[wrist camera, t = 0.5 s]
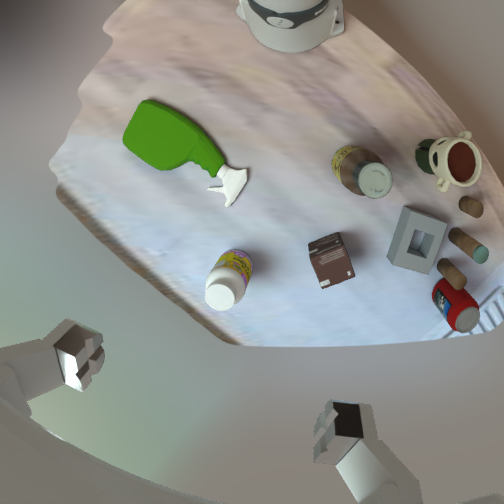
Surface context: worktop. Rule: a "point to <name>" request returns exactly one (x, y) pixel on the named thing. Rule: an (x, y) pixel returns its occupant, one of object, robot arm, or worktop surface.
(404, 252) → the socket block
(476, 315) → the beverage can
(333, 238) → the box
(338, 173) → the sauce bottle
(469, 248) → the long pin
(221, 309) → the supplement bottle
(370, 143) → the worktop surface
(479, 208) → the short pin
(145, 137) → the spray bottle
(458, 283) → the medium pin
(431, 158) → the character mug
